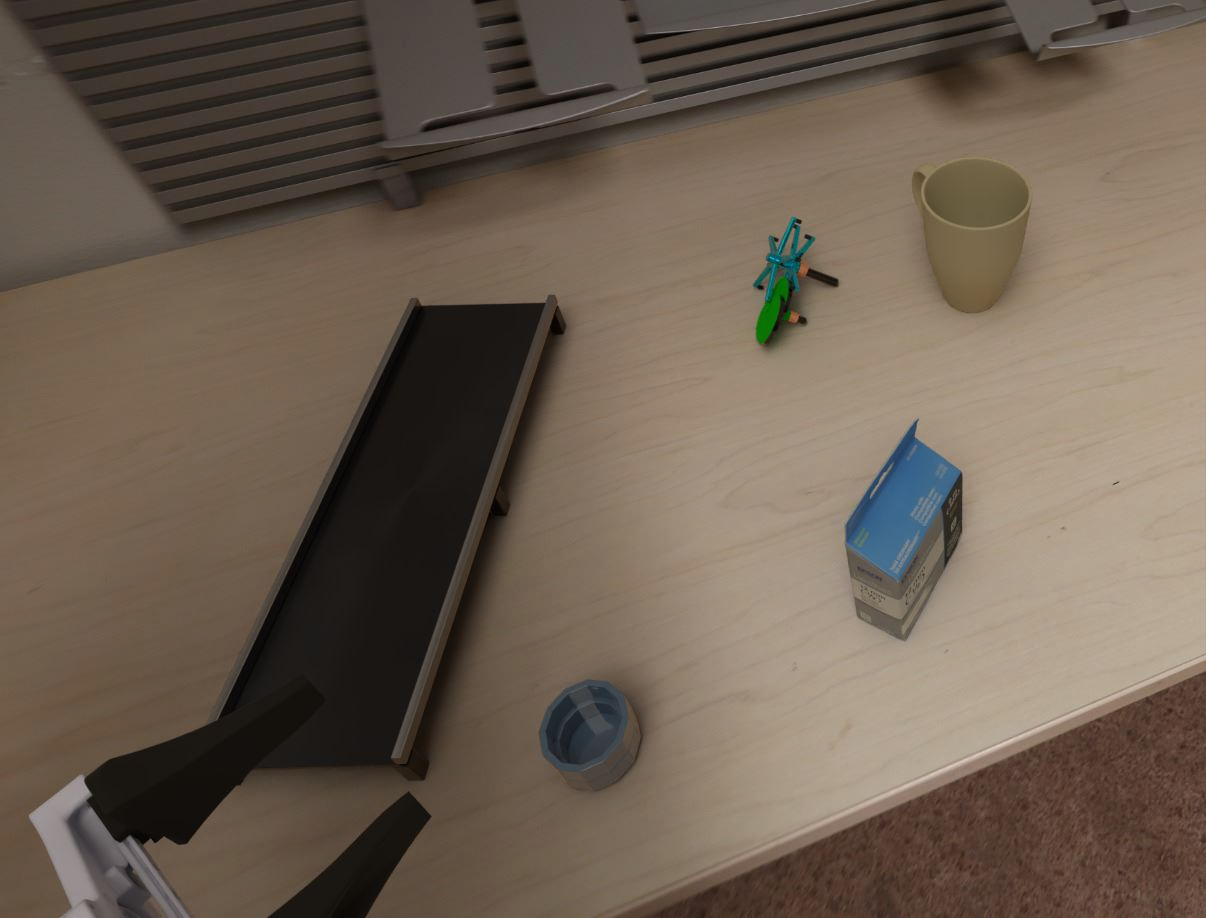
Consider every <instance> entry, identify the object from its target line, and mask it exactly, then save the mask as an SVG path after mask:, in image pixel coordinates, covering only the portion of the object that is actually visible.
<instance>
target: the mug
mask: <svg viewBox="0 0 1206 918" xmlns="http://www.w3.org/2000/svg"><path fill="white" fill-rule="evenodd" d="M911 187H912V188H911V189H912V195H913V199H914V202H915V205H916V207H917V210H918V212H919V214H920V216H921V218H922V222H923V235H924V243H925V249H926V253H927V258H928V261H929V264H930V267H931V269H932V272H933V274H934V276H935V278H936V280H937V282H938V284H939V287H940V289H941V293H942V294H943V296H944V299H945V300H946V302H947V304H948V305H950V306H951V307H952V308H954V309H956V310H958V311H960V312H964V313H969V314H970V313H971V314H973V313H974V314H975V313H981V312H985V311H987V310H989V309H990V308H991V307H993V306H994V305H995V303H996V302H997V301H998V299H999V297H1000V295H1001V294H1002V292H1003V290H1004V288H1005V287H1006V285H1007V283H1008V281H1009V280H1010V278H1011V276H1012V275H1013V273H1014V271H1015V269H1016V266H1017V265H1018V263H1019V259H1020V256H1021V253H1022V250H1023V246H1024V242H1025V236H1026V233H1027V226H1028V221H1029V218H1030V217H1029V216H1030V211H1031V207H1032V202H1033V190H1032V187H1031V184H1030V182H1029V180H1028V178H1027V177H1026V176H1025V175H1024V174H1023V173H1022V172H1021V171H1020V170H1018V169H1017V168H1016V167H1015V166H1012V165H1010V164H1009V163H1006V162H1004V161H1001V160H998V159H994V158H989V157H984V156H983V157H982V156H967V157H960V158H955V159H950V160H948V161H946V162H944V163H941V164H939V165H938V166H936V165H934V164H933V163H924V164H921V165H919V166H918V167H916V168H915V169H914V171H913V173H912V176H911Z"/></svg>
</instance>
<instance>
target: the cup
mask: <svg viewBox="0 0 1206 918" xmlns="http://www.w3.org/2000/svg"><path fill="white" fill-rule="evenodd" d="M538 737H539V743H540V749H541V755H542V756H543V758H544V759H545V760H546V762H547V763H548V764H549V765H550V767H552V768H553V770H554V772H556V773H557V776H559V777H560V778H561V779H562V780H563V781H564V782H565V783H566V784H567V785H568V786H569V787H570V788H571V789H574V790H581V791H590V792H596V791H600V790H602V789H603V788H606V787H607V786H609V785H612V784H614V783H616V782H617V781H619V780H620V779H621V778H622V776H623V775H624V774H625V773H626V772H627V770H629V768H630V767H631V766H632V764H633V763H634V762H635V760H636V758H637V754H638V751H639V746H640V742H641V739H642V735H641V729H640V724H639V721H638V717H637V715H636V713H635V711H634V710H633V708H632V706H631V704H630V703H629V701H628V699H627V697H626V695H625V693H623V692H622V691H621V690H619V688H617V687H616V686H615V685H614V684H613V683H612V682H611V681H607V680H601V679H600V680H599V679H584V680H582V681H580V682H578V683H575V684H573V685H570V686H568V687H566V688H565V689H563V690H562V692H560V694H559V695H558V696H557V697H555V699H554V700H553V701H552V702H551V703H550V704H549V705H548V706H547V708H546V710H545V713H544V714H543V719H542V721H541V724H540V727H539V730H538Z"/></svg>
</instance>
